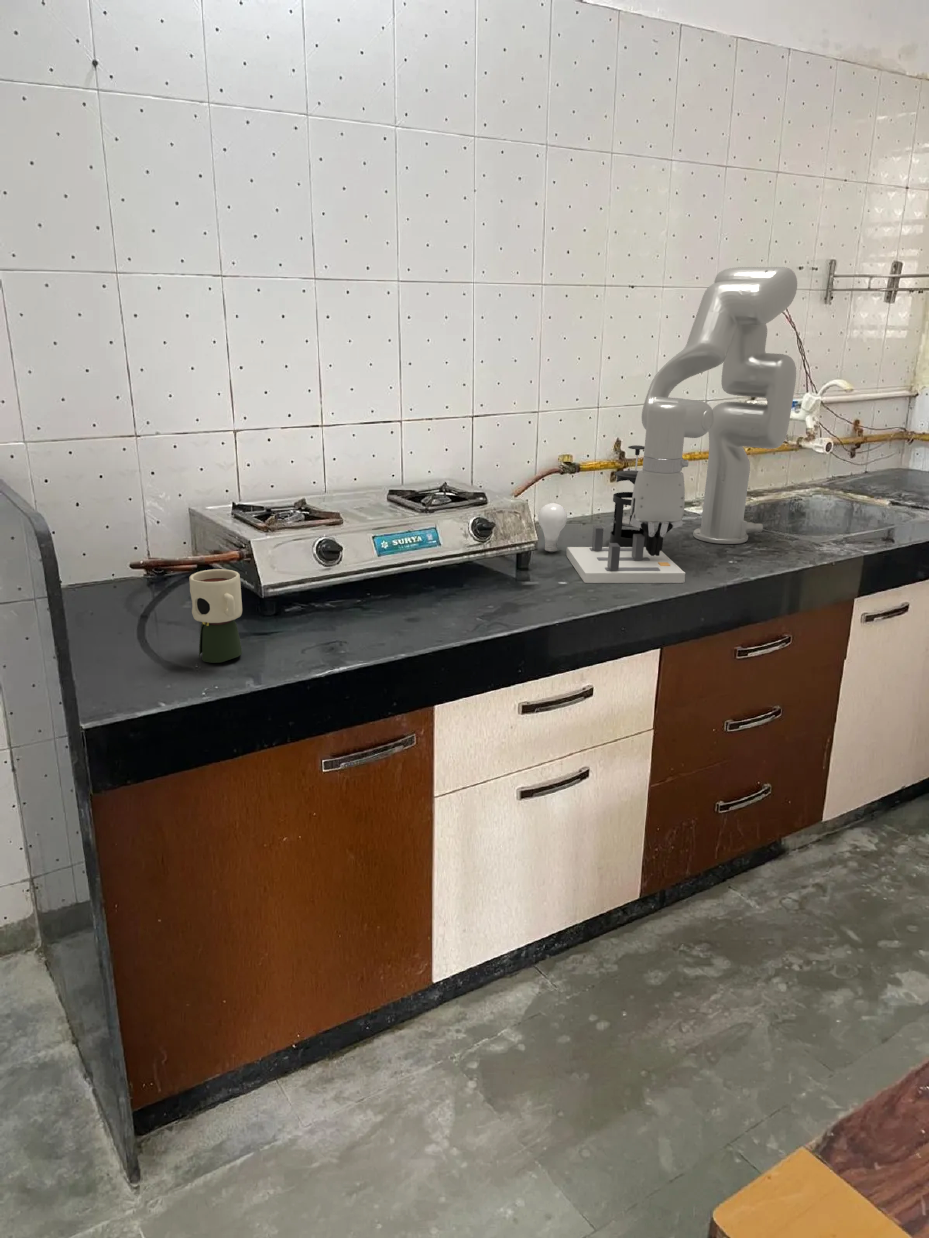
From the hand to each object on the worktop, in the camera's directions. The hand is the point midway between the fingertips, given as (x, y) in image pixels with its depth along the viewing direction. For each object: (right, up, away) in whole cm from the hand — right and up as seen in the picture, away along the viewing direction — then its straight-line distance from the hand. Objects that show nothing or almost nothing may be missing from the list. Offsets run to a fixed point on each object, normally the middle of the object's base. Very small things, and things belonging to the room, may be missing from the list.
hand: (653, 554), depth 180 cm
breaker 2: (-10, -3, -7) cm, 13 cm away
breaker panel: (-6, -3, +1) cm, 7 cm away
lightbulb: (-20, +1, +12) cm, 23 cm away
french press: (-1, +3, +17) cm, 17 cm away
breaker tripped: (-3, -1, 0) cm, 4 cm away
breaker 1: (-11, +2, +7) cm, 13 cm away
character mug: (-76, -20, -50) cm, 93 cm away
